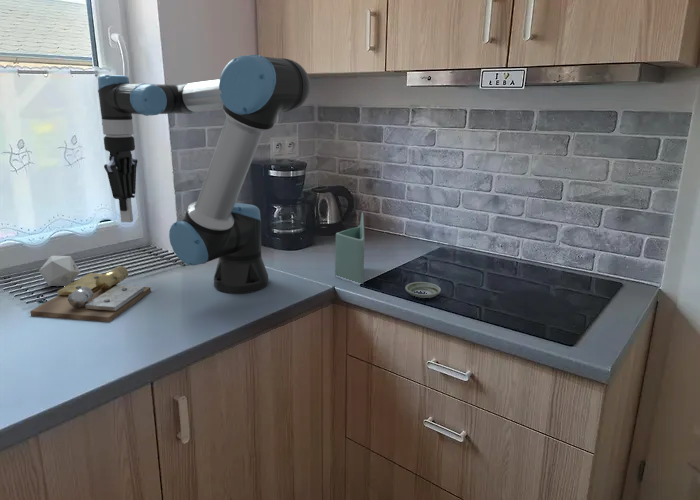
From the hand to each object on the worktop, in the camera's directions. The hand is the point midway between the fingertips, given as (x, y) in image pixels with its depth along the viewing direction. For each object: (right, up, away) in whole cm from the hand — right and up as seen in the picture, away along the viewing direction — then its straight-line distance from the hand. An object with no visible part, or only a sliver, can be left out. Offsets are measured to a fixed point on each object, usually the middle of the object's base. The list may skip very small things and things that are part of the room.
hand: (127, 221), depth 148 cm
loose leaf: (-6, -18, -7) cm, 20 cm away
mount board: (-3, -21, -13) cm, 25 cm away
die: (-17, -18, -2) cm, 25 cm away
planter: (+62, -16, +10) cm, 65 cm away
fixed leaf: (+1, -20, -14) cm, 25 cm away
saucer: (+82, -21, -3) cm, 85 cm away
